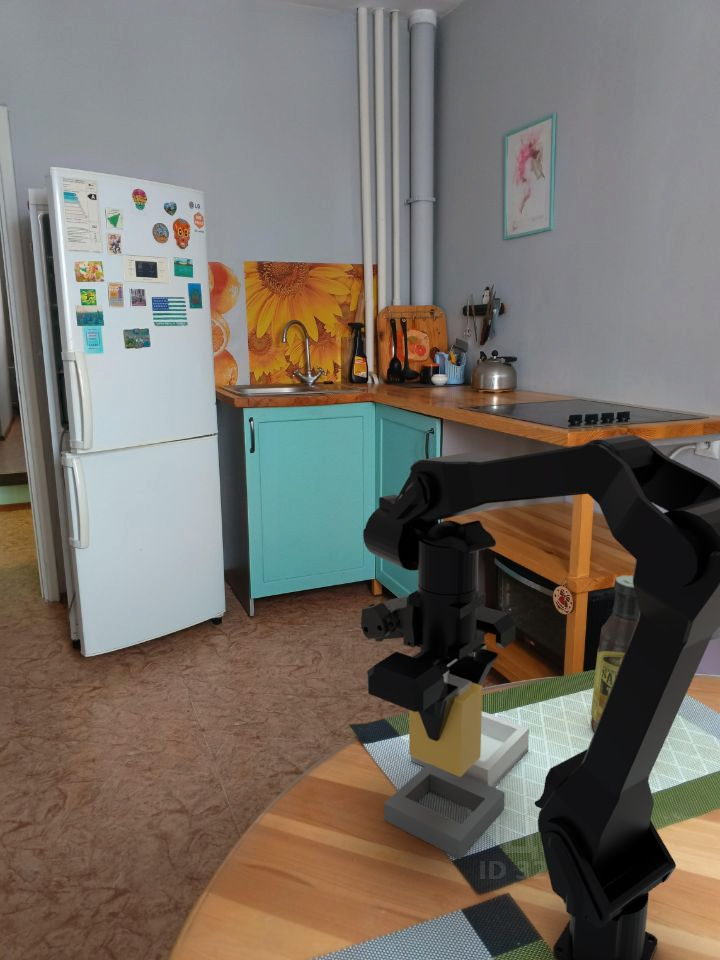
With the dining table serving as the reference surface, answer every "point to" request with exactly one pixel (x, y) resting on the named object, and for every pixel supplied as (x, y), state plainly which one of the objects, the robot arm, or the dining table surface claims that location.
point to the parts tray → (496, 749)
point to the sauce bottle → (614, 643)
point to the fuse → (452, 731)
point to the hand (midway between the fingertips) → (445, 729)
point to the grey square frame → (437, 826)
